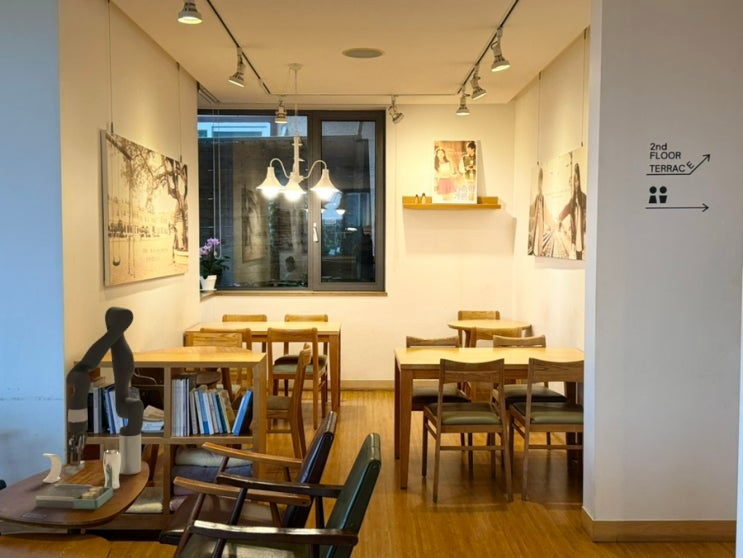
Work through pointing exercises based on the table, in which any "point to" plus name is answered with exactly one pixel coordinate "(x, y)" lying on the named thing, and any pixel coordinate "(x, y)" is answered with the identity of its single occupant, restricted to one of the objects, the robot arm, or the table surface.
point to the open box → (62, 496)
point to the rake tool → (75, 464)
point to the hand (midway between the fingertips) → (77, 459)
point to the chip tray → (94, 503)
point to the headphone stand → (54, 468)
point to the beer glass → (112, 468)
